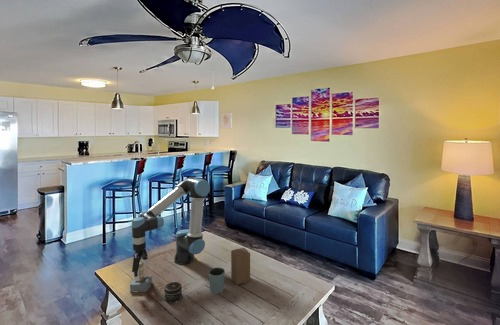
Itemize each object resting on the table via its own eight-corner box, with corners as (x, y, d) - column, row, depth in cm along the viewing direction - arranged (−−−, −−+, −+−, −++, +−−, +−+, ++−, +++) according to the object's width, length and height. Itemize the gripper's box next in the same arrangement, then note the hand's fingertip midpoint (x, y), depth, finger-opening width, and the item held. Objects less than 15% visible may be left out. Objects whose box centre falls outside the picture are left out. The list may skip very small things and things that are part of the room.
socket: (152, 282, 175) (151, 275, 175) (146, 291, 165) (146, 284, 165) (136, 283, 175) (136, 275, 174) (130, 292, 165) (129, 284, 164)
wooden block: (237, 285, 172) (236, 256, 170) (230, 278, 181) (230, 249, 179) (250, 281, 177) (250, 252, 174) (244, 274, 186) (244, 246, 183)
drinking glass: (211, 295, 162) (210, 277, 160) (207, 286, 171) (206, 269, 169) (227, 291, 166) (227, 273, 164) (222, 283, 175) (222, 265, 173)
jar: (168, 292, 165) (168, 281, 164) (184, 293, 164) (184, 281, 163) (161, 303, 155) (161, 290, 154) (178, 304, 154) (178, 291, 153)
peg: (145, 285, 172) (144, 261, 170) (143, 289, 168) (142, 265, 166) (139, 285, 172) (138, 262, 170) (137, 289, 168) (135, 265, 166)
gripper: (140, 234, 179) (141, 264, 181) (124, 251, 154) (126, 286, 156) (151, 234, 179) (153, 264, 182) (137, 251, 154) (139, 286, 157)
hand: (140, 274), depth 169 cm, fingers open, 13 cm apart
